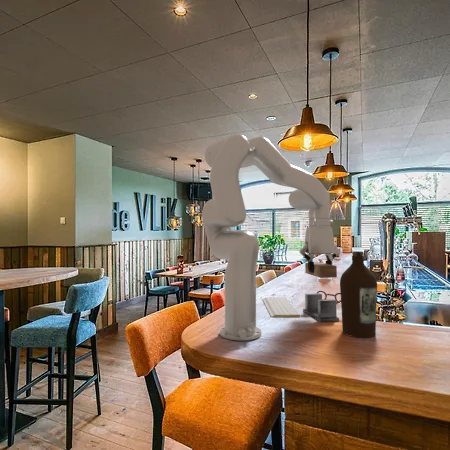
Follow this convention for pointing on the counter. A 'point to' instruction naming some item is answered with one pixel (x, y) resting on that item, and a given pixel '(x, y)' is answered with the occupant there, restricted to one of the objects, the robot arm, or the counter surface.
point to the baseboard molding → (280, 307)
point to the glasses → (330, 295)
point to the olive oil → (358, 299)
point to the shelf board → (322, 270)
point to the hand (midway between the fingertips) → (319, 271)
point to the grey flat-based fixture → (320, 308)
